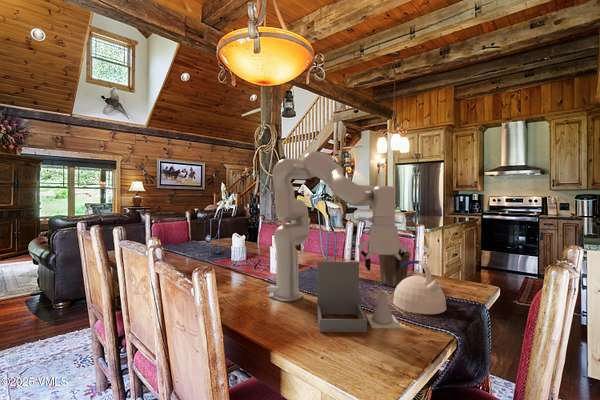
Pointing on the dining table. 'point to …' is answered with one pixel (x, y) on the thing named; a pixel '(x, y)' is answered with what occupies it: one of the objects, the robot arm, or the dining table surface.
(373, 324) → the rubber mat
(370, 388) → the dining table surface
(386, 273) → the plant pot
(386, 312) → the flask
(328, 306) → the case
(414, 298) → the kettle
